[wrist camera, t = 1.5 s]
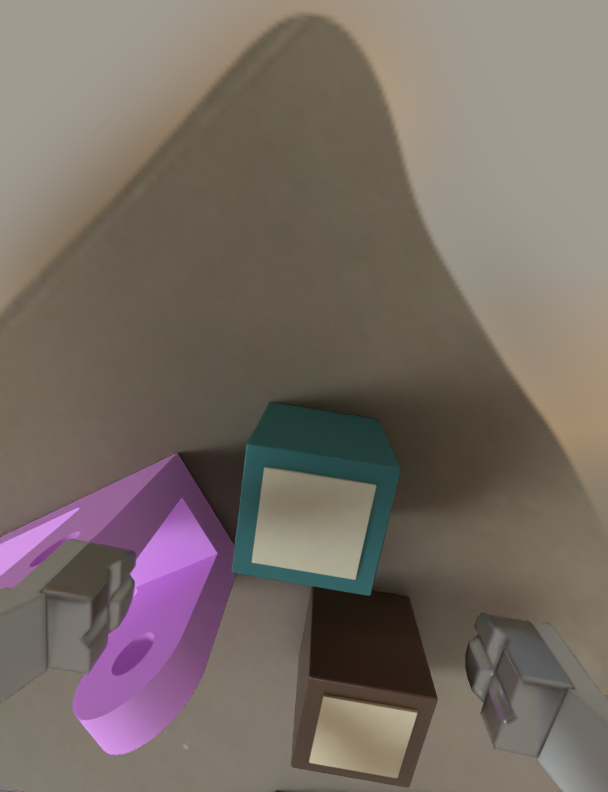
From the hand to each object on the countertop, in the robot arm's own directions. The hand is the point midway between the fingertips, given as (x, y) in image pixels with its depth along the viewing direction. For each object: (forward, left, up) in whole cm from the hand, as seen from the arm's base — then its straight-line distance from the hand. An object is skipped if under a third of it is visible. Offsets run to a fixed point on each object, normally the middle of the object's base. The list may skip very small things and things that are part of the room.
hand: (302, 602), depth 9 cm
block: (+7, +3, -7) cm, 11 cm away
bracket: (+6, -9, -7) cm, 13 cm away
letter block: (-1, 0, -7) cm, 7 cm away
